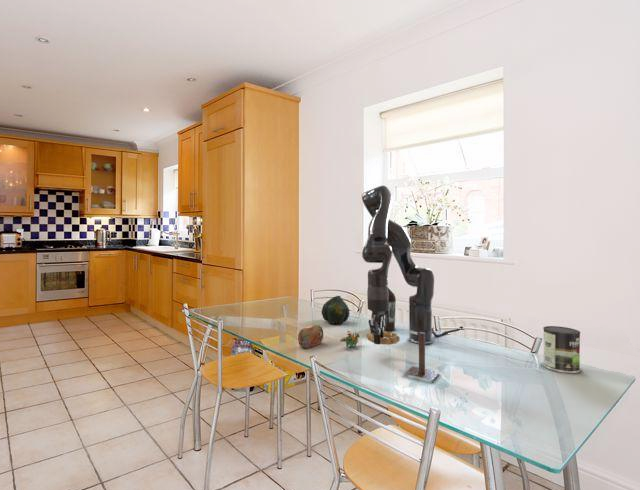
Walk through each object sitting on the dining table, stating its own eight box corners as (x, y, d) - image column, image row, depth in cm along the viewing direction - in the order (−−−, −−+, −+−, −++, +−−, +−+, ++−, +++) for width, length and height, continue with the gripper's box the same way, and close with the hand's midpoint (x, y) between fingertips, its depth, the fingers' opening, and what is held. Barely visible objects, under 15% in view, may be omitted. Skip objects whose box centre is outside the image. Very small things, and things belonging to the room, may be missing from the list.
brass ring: (373, 334, 159) (373, 328, 159) (403, 339, 151) (403, 333, 151) (362, 341, 150) (362, 335, 150) (393, 347, 142) (393, 340, 142)
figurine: (362, 348, 168) (362, 329, 167) (342, 353, 161) (342, 333, 161) (357, 346, 170) (356, 327, 170) (336, 351, 164) (336, 331, 164)
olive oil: (369, 329, 197) (369, 279, 197) (379, 325, 205) (379, 277, 204) (390, 333, 190) (389, 281, 189) (399, 328, 197) (399, 279, 197)
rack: (412, 369, 142) (412, 328, 142) (439, 375, 137) (439, 332, 136) (404, 377, 136) (404, 333, 135) (432, 383, 130) (432, 338, 129)
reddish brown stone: (302, 350, 166) (302, 330, 166) (296, 348, 169) (296, 329, 168) (324, 342, 176) (323, 324, 176) (318, 341, 179) (318, 322, 178)
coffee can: (585, 370, 139) (585, 330, 139) (571, 375, 134) (571, 334, 134) (551, 361, 148) (552, 324, 148) (537, 366, 143) (537, 328, 143)
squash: (317, 315, 207) (336, 294, 205) (316, 310, 221) (334, 290, 220) (338, 333, 205) (357, 312, 203) (335, 327, 219) (354, 307, 218)
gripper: (374, 293, 154) (375, 337, 155) (360, 299, 144) (361, 346, 144) (394, 295, 150) (395, 340, 150) (381, 301, 139) (382, 349, 139)
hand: (378, 342), depth 147 cm, fingers closed on brass ring, 2 cm apart
